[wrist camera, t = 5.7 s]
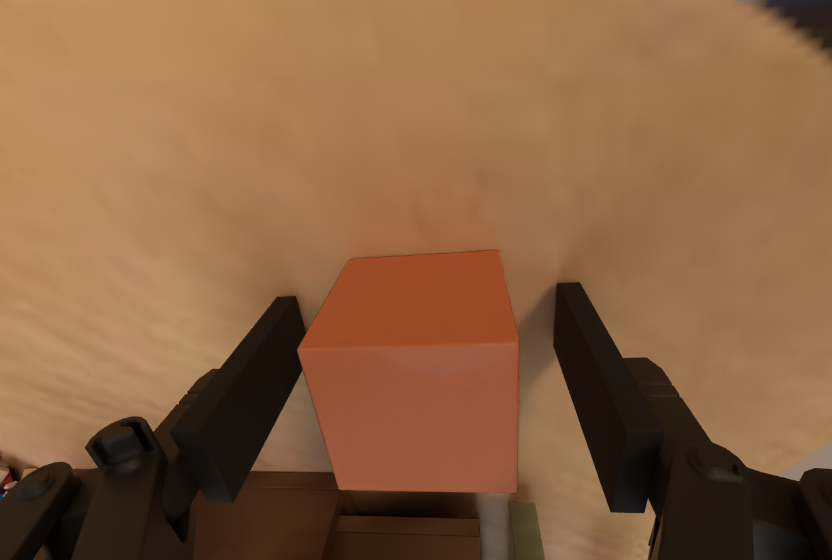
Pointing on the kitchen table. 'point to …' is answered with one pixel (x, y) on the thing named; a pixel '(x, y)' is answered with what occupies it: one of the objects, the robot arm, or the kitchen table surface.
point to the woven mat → (9, 480)
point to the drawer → (432, 537)
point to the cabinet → (270, 519)
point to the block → (417, 374)
